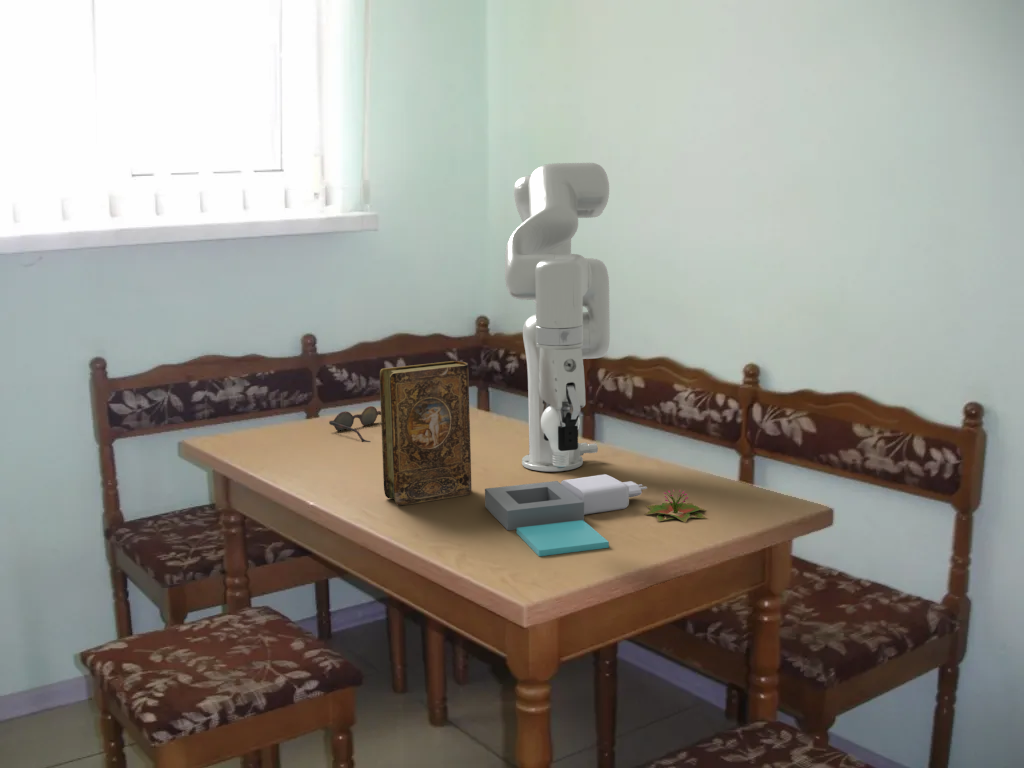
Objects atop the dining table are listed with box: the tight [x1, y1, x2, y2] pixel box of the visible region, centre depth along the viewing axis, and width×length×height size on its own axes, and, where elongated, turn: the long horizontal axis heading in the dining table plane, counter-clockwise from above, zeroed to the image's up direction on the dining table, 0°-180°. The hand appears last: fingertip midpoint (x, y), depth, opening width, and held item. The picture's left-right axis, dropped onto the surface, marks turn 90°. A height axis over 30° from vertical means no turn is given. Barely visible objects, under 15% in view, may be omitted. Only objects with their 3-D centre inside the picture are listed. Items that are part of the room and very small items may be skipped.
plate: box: [516, 520, 610, 557], centre depth 189 cm, size 12×12×1 cm
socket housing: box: [484, 480, 585, 531], centre depth 203 cm, size 14×14×4 cm
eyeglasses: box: [329, 406, 381, 443], centre depth 265 cm, size 15×15×5 cm
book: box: [379, 360, 473, 506], centre depth 212 cm, size 16×6×25 cm, turn 117°
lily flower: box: [644, 488, 709, 524], centre depth 202 cm, size 12×12×5 cm
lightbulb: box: [541, 404, 581, 469], centre depth 185 cm, size 6×6×11 cm
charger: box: [560, 473, 648, 516], centre depth 208 cm, size 5×9×15 cm
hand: (560, 443), depth 186 cm, fingers closed on lightbulb, 6 cm apart
